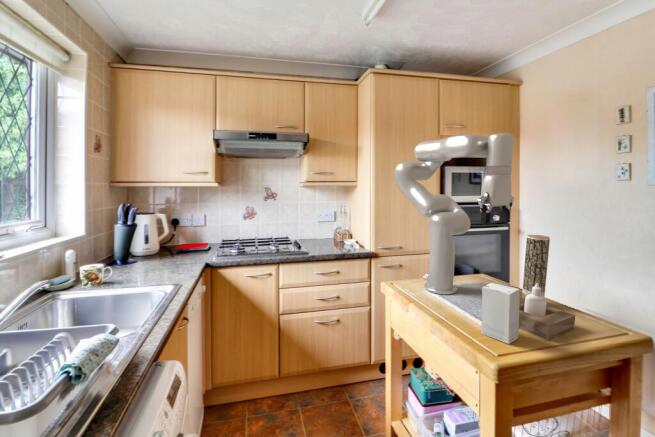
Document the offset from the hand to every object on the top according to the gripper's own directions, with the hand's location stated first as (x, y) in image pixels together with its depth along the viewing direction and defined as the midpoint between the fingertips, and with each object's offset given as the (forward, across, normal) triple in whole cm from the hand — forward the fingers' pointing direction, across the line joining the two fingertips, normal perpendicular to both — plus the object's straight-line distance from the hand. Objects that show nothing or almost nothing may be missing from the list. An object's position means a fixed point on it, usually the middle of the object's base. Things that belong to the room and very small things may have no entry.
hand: (494, 223), depth 109 cm
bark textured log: (+31, -17, +5) cm, 35 cm away
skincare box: (+31, +15, +14) cm, 37 cm away
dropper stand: (+30, -2, +14) cm, 33 cm away
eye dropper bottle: (+30, -2, +14) cm, 33 cm away
